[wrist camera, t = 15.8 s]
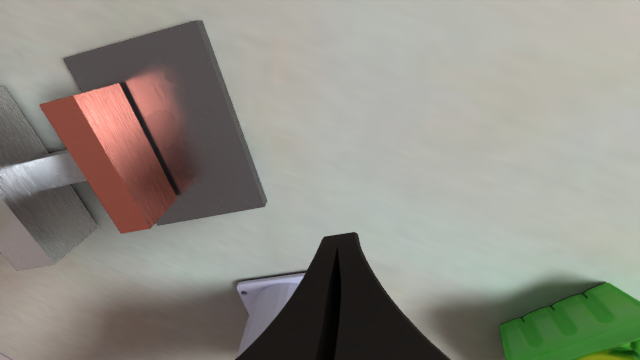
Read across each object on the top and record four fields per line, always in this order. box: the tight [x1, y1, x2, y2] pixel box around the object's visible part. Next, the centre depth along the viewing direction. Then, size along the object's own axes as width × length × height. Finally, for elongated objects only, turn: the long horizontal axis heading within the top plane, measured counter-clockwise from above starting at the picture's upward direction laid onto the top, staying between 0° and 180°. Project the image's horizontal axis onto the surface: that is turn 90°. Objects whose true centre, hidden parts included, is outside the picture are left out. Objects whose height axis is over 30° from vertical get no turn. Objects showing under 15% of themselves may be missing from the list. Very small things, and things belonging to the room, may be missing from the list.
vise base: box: [63, 20, 267, 225], centre depth 20 cm, size 12×8×1 cm
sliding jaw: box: [0, 83, 177, 271], centre depth 19 cm, size 11×11×4 cm
